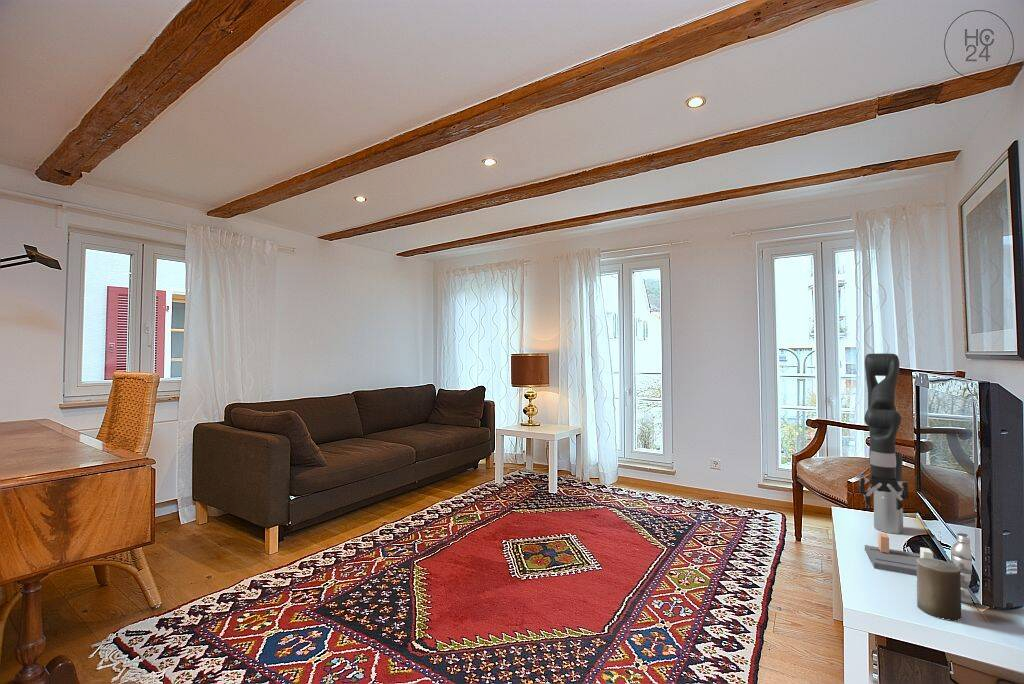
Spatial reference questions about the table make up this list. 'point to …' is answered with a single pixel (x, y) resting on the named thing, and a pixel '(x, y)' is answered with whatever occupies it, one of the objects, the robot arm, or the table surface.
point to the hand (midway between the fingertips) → (883, 507)
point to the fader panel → (893, 560)
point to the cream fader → (925, 553)
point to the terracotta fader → (883, 542)
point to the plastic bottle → (963, 564)
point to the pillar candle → (939, 588)
